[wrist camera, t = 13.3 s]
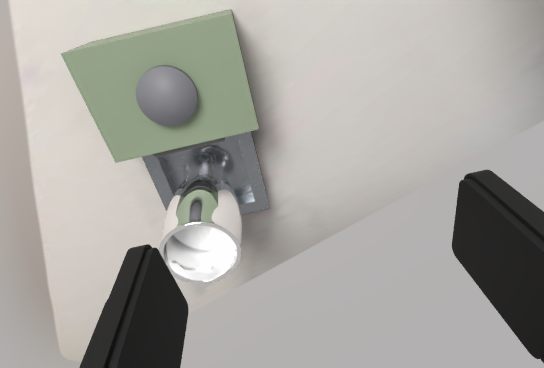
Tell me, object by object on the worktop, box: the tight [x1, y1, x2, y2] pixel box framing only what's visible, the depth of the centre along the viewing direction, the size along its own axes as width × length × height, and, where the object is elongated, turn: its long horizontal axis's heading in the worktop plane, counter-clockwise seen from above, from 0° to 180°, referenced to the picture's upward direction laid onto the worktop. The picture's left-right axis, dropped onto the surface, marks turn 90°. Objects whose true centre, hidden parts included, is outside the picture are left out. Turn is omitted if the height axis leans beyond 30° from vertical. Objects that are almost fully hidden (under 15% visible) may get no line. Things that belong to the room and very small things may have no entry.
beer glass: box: [159, 146, 242, 284], centre depth 33 cm, size 7×7×15 cm
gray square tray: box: [142, 131, 269, 215], centre depth 39 cm, size 12×12×3 cm
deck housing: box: [61, 9, 259, 163], centre depth 32 cm, size 14×11×8 cm
